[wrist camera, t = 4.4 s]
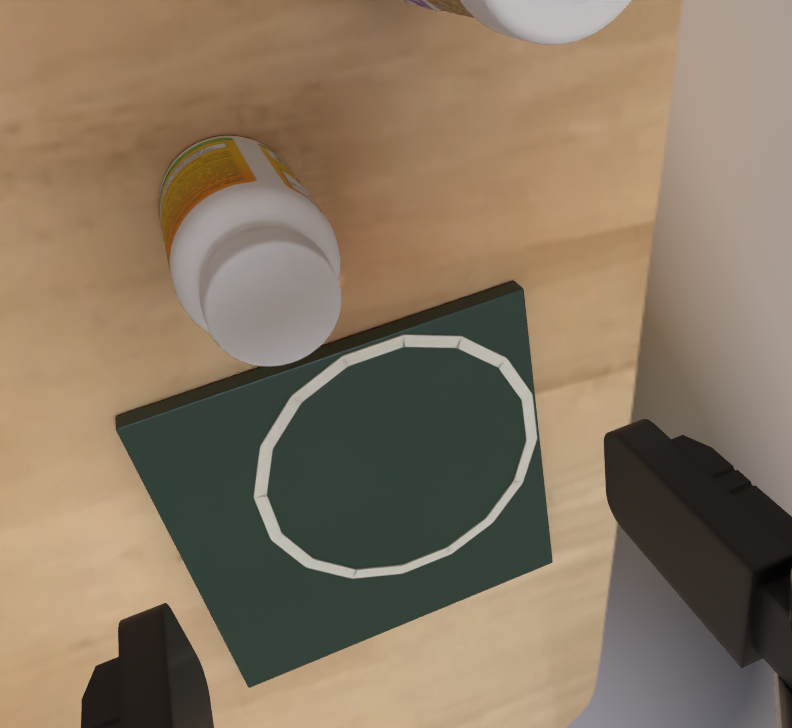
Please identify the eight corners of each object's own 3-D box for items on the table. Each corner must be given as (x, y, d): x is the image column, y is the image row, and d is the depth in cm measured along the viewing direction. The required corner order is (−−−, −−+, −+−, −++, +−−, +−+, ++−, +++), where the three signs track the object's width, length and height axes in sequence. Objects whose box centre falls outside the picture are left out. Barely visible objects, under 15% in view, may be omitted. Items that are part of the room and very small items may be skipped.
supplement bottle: (148, 256, 29) (163, 380, 21) (169, 118, 27) (194, 200, 19) (281, 276, 32) (340, 396, 24) (311, 149, 29) (387, 235, 21)
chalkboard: (514, 280, 35) (525, 289, 35) (545, 551, 46) (554, 563, 45) (114, 416, 32) (115, 430, 31) (245, 674, 43) (248, 690, 42)
